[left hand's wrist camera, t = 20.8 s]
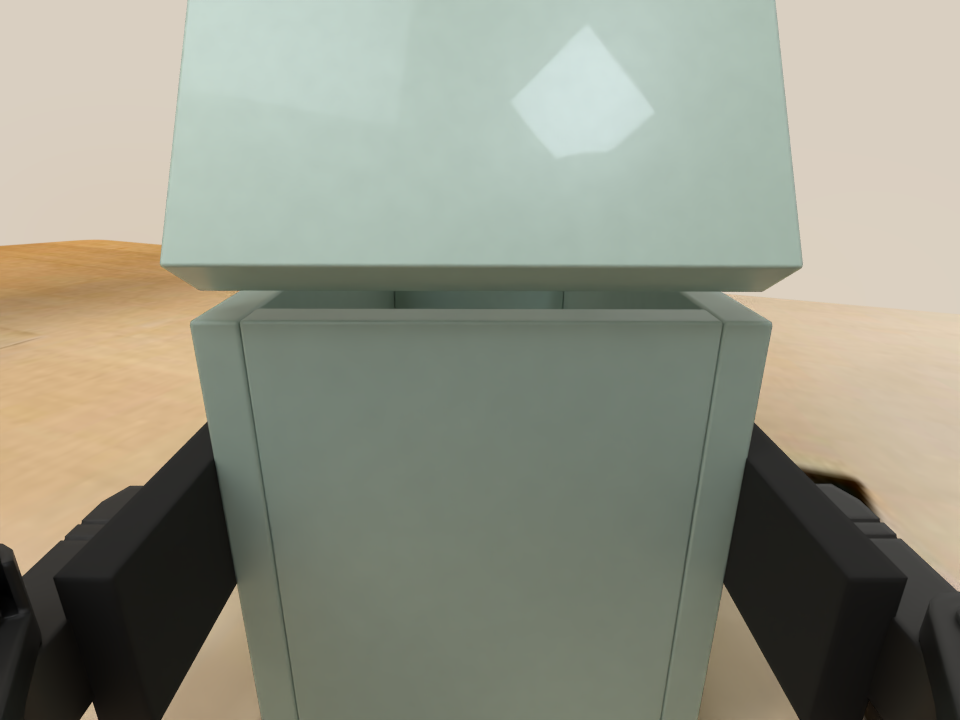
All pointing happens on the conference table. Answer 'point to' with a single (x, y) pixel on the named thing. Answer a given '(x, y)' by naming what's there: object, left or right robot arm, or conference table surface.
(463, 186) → the lid
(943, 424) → the conference table surface
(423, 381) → the chest
